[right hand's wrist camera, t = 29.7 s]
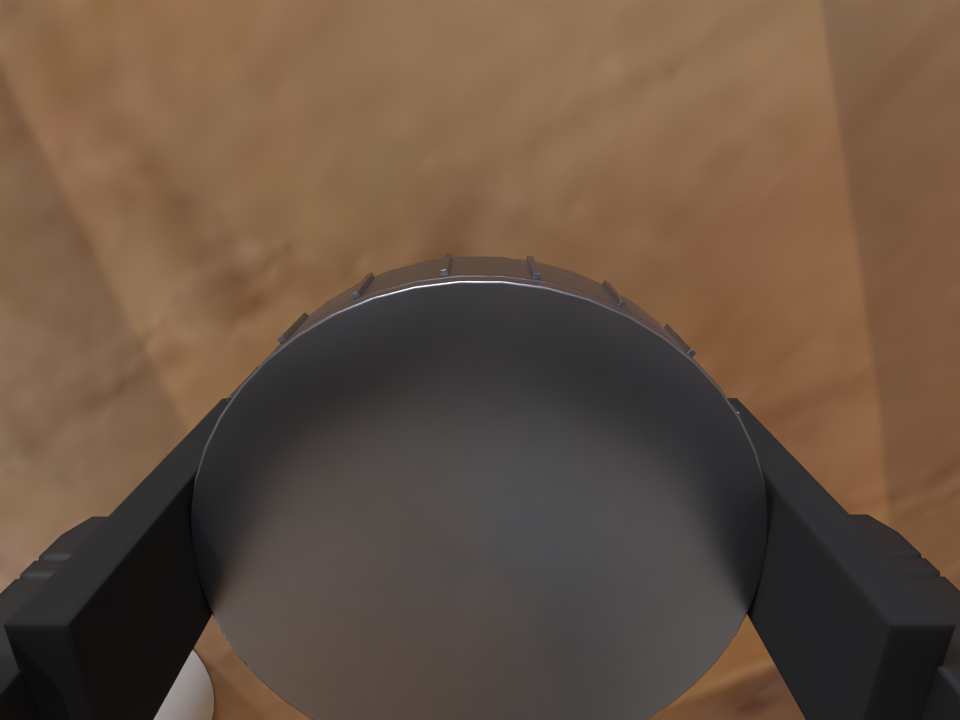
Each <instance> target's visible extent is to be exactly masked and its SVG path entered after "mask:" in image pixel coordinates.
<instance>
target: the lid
mask: <svg viewBox="0 0 960 720" xmlns="http://www.w3.org/2000/svg"><path fill="white" fill-rule="evenodd" d="M278 341H279V342H280V343H281V344H280V345H279V346H278V347H277V348H276V349H275V350H274V351H273V352H272V353H271V354H270V355H269V356H268V357H267V358H266V359H265V360H264V362H263V363H262V364H261V365H260V366H259V367H257V368H256V369H255V370H254V371H253V372H252V373H251V374H250V375H249V376H248V377H247V378H246V379H245V380H244V381H243V382H242V383H241V384H240V386H239V387H238V388H237V389H236V390H235V391H234V392H233V393H232V394H231V395H230V396H229V397H228V399H227V402H229V403H228V405H227V406H226V408H225V409H224V410H223V412H222V413H221V415H220V417H219V419H218V421H217V423H216V425H215V427H214V429H213V431H212V433H211V435H210V437H209V439H208V441H207V444H206V446H205V448H204V451H203V455H202V458H201V462H200V465H199V468H198V472H197V475H196V478H195V485H194V492H193V500H192V508H191V530H192V545H193V550H194V555H195V561H196V566H197V571H198V576H199V581H200V583H201V586H202V589H203V592H204V595H205V598H206V601H207V604H208V606H209V608H210V610H211V612H212V614H213V616H214V617H215V619H216V621H217V623H218V625H219V627H220V629H221V631H222V633H223V634H224V636H225V637H226V638H227V640H228V641H229V643H230V644H231V646H232V647H233V648H234V650H235V651H236V653H237V654H238V655H239V657H240V658H241V659H242V660H243V661H244V663H245V664H246V665H247V666H248V667H249V668H250V669H251V670H252V671H253V672H254V674H255V675H256V676H257V677H258V678H259V679H260V680H261V681H262V682H263V683H264V684H265V685H267V686H268V687H269V688H270V689H271V690H272V691H274V692H275V693H276V694H277V695H278V696H279V697H281V698H282V699H283V700H284V701H285V702H287V703H288V704H290V705H291V706H293V707H294V708H296V709H297V710H299V711H300V712H302V713H303V714H305V715H306V716H307V717H309V718H310V719H312V720H647V719H649V718H650V717H652V716H653V715H655V714H656V713H658V712H659V711H661V710H662V709H664V708H665V707H667V706H668V705H670V704H671V703H673V702H674V701H675V700H676V699H677V698H679V697H680V696H681V695H682V694H683V693H685V692H686V691H687V690H688V689H689V688H690V687H692V686H693V685H694V684H695V683H696V682H697V681H698V680H699V679H700V678H701V677H702V676H703V675H704V674H705V673H706V672H707V671H708V670H709V668H710V667H711V666H712V665H713V664H714V663H715V662H716V661H717V660H718V659H719V657H720V656H721V654H722V653H723V652H724V650H725V649H726V647H727V646H728V645H729V643H730V642H731V640H732V639H733V638H734V636H735V635H736V633H737V631H738V629H739V628H740V626H741V624H742V622H743V620H744V618H745V616H746V614H747V612H748V611H749V609H750V607H751V604H752V601H753V598H754V596H755V593H756V590H757V587H758V584H759V582H760V579H761V574H762V569H763V564H764V558H765V553H766V548H767V536H768V507H767V499H766V490H765V482H764V478H763V475H762V471H761V468H760V464H759V461H758V457H757V454H756V450H755V448H754V446H753V444H752V441H751V439H750V437H749V435H748V433H747V431H746V429H745V426H744V424H743V422H742V420H741V415H740V413H739V412H738V411H737V410H736V409H735V408H734V406H733V405H732V404H731V403H730V402H729V400H728V399H727V397H726V396H725V394H724V393H723V391H722V390H721V388H720V387H719V386H718V385H717V384H716V383H715V382H714V381H713V380H712V378H711V377H710V376H709V375H708V374H707V373H706V372H705V371H704V370H703V369H702V368H701V367H700V366H699V364H698V363H697V362H696V361H695V360H694V359H693V358H692V357H693V356H694V355H695V354H696V353H695V352H694V351H693V350H692V349H691V348H690V347H689V346H688V345H687V344H686V343H685V342H684V341H683V340H682V339H681V338H680V337H679V336H678V334H677V333H676V332H675V331H674V330H673V329H672V328H671V327H670V326H669V325H666V326H665V327H663V326H662V325H661V324H660V323H658V322H657V321H656V320H655V319H653V318H652V317H651V316H650V315H648V314H647V313H646V312H645V311H643V310H642V309H641V308H640V307H638V306H637V305H636V304H635V303H633V302H631V301H630V300H628V299H626V298H625V297H623V296H621V295H620V294H619V293H618V292H617V291H616V290H615V289H614V288H613V286H612V285H611V284H610V283H609V282H607V281H604V282H603V284H600V283H597V282H595V281H593V280H590V279H588V278H586V277H583V276H581V275H579V274H576V273H574V272H571V271H568V270H564V269H560V268H557V267H553V266H550V265H546V264H542V263H539V262H536V261H535V259H534V257H532V256H527V261H526V260H519V259H511V258H504V257H456V258H452V255H451V253H448V254H445V256H444V259H440V260H432V261H425V262H421V263H417V264H414V265H410V266H406V267H402V268H398V269H395V270H391V271H388V272H386V273H383V274H381V275H378V276H376V277H374V275H373V273H370V274H368V275H366V277H365V278H364V279H363V280H362V282H361V283H359V284H357V285H355V286H353V287H352V288H350V289H348V290H346V291H345V292H343V293H341V294H340V295H338V296H336V297H334V298H333V299H331V300H329V301H328V302H326V303H325V304H324V305H322V306H321V307H320V308H318V309H317V310H316V311H315V312H313V313H312V314H311V315H310V316H308V315H307V314H306V313H304V314H303V315H302V316H301V317H300V318H299V319H298V320H297V321H296V322H295V323H294V324H293V325H292V326H291V327H290V328H289V329H288V330H287V331H286V332H285V333H284V334H283V335H282V336H281V337H280V338H279V339H278Z"/></svg>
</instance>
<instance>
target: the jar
mask: <svg viewBox="0 0 960 720" xmlns="http://www.w3.org/2000/svg"><path fill="white" fill-rule="evenodd" d="M213 712H214V693H213V687H212V683H211V680H210V677H209V675H208V673H207V670H206V668H205V666H204V664H203V663H202V661H201V660H200V658H199V657H198V655H197V654H196V653H195V652H194V650H192V652H191V653H190V655H189V657H188V659H187V661H186V662H185V664H184V666H183V668H182V670H181V671H180V673H179V675H178V677H177V679H176V680H175V682H174V684H173V686H172V688H171V689H170V691H169V693H168V695H167V697H166V698H165V700H164V702H163V704H162V706H161V707H160V709H159V711H158V713H157V715H156V716H155V718H154V720H212V716H213Z"/></svg>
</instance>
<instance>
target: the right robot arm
mask: <svg viewBox="0 0 960 720" xmlns="http://www.w3.org/2000/svg"><path fill="white" fill-rule="evenodd" d="M227 399H228V398H223V399H222V400H221V401H220V402H219V403H218V404H217V405H216V406H215V407H214V408H213V409H212V410H211V411H210V412H209V413H208V414H207V415H206V416H205V417H204V418H203V419H202V420H201V421H200V423H199V424H198V425H197V426H196V427H195V428H194V429H193V430H192V431H191V432H190V433H189V434H188V435H187V436H186V437H185V438H184V439H183V440H182V441H181V442H180V443H179V444H178V445H177V446H176V447H175V448H174V449H173V450H172V451H171V452H170V454H169V455H168V456H167V457H166V458H165V459H164V460H163V461H162V462H161V463H160V464H159V465H158V466H157V467H156V468H155V469H154V470H153V471H152V472H151V473H150V474H149V475H148V476H147V477H146V478H145V479H144V480H143V481H142V482H141V483H140V485H139V486H138V487H137V488H136V489H135V490H134V491H133V492H132V493H131V494H130V495H129V496H128V497H127V498H126V499H125V500H124V501H123V502H122V503H121V504H120V505H119V506H118V507H117V508H116V509H115V510H114V511H113V512H112V513H111V514H110V516H109V517H91V518H89V519H88V520H86V521H84V522H83V523H81V524H79V525H78V526H76V527H74V528H72V529H71V530H69V531H67V532H66V533H64V534H62V535H61V536H60V537H59V538H58V539H57V540H56V541H55V542H54V543H53V544H52V545H51V546H50V547H48V548H47V549H46V550H45V551H44V552H43V553H42V554H41V555H40V556H39V560H38V561H34V562H33V563H32V564H31V565H30V566H29V567H28V568H27V569H26V570H25V571H24V572H22V573H21V574H20V579H15V580H14V581H13V582H12V583H11V584H10V585H9V586H8V587H7V588H6V589H5V590H4V591H3V592H2V593H1V594H0V720H154V718H155V716H156V715H157V713H158V711H159V709H160V707H161V706H162V704H163V702H164V700H165V698H166V697H167V695H168V693H169V691H170V689H171V688H172V686H173V684H174V682H175V680H176V679H177V677H178V675H179V673H180V671H181V670H182V668H183V666H184V664H185V662H186V661H187V659H188V657H189V655H190V653H191V652H192V650H193V648H194V646H195V644H196V643H197V641H198V639H199V637H200V635H201V634H202V632H203V630H204V628H205V626H206V625H207V623H208V621H209V619H210V617H211V616H212V612H211V610H210V608H209V606H208V604H207V601H206V598H205V595H204V592H203V589H202V586H201V583H200V581H199V576H198V571H197V566H196V561H195V555H194V550H193V545H192V530H191V508H192V500H193V492H194V485H195V478H196V475H197V472H198V468H199V465H200V462H201V458H202V455H203V451H204V448H205V446H206V444H207V441H208V439H209V437H210V435H211V433H212V431H213V429H214V427H215V425H216V423H217V421H218V419H219V417H220V415H221V413H222V412H223V410H224V409H225V408H226V406H227V405H228V403H229V402H227ZM727 399H728V400H729V402H730V403H731V404H732V405H733V406H734V408H735V409H736V410H737V411H738V412H739V413H740V415H741V420H742V422H743V424H744V426H745V429H746V431H747V433H748V435H749V437H750V439H751V441H752V444H753V446H754V448H755V450H756V454H757V457H758V461H759V464H760V468H761V471H762V475H763V478H764V482H765V490H766V499H767V507H768V536H767V548H766V553H765V558H764V564H763V569H762V574H761V579H760V582H759V584H758V587H757V590H756V593H755V596H754V598H753V601H752V604H751V607H750V609H749V611H748V612H747V614H748V616H749V618H750V620H751V622H752V623H753V625H754V627H755V629H756V631H757V632H758V634H759V636H760V638H761V640H762V641H763V643H764V645H765V647H766V649H767V650H768V652H769V654H770V656H771V658H772V659H773V661H774V663H775V665H776V667H777V668H778V670H779V672H780V674H781V676H782V677H783V679H784V681H785V683H786V685H787V686H788V688H789V690H790V692H791V694H792V695H793V697H794V699H795V701H796V703H797V704H798V706H799V708H800V710H801V712H802V713H803V715H804V717H805V719H806V720H960V591H959V590H958V589H957V588H956V587H955V586H954V585H953V584H952V583H951V582H950V581H949V580H947V579H946V578H945V577H941V576H940V572H939V571H938V570H937V569H936V568H935V567H934V566H933V565H932V564H931V563H930V562H929V561H928V560H927V559H925V558H921V554H920V553H919V552H918V551H917V550H916V549H915V548H914V547H913V546H912V545H911V544H910V543H909V542H908V541H907V540H906V539H905V538H904V537H902V536H901V535H900V534H899V533H898V532H896V531H895V530H893V529H891V528H890V527H888V526H886V525H884V524H883V523H881V522H879V521H878V520H876V519H874V518H873V517H871V516H869V515H849V514H848V513H847V512H846V511H845V510H844V509H843V508H842V507H841V506H840V505H839V504H838V503H837V502H836V500H835V499H834V498H833V497H832V496H831V495H830V494H829V493H828V492H827V491H826V490H825V489H824V488H823V487H822V486H821V485H820V484H819V483H818V482H817V481H816V480H815V479H814V478H813V477H812V476H811V475H810V474H809V473H808V472H807V470H806V469H805V468H804V467H803V466H802V465H801V464H800V463H799V462H798V461H797V460H796V459H795V458H794V457H793V456H792V455H791V454H790V453H789V452H788V451H787V450H786V449H785V448H784V447H783V446H782V445H781V444H780V443H779V442H778V441H777V439H776V438H775V437H774V436H773V435H772V434H771V433H770V432H769V431H768V430H767V429H766V428H765V427H764V426H763V425H762V424H761V423H760V422H759V421H758V420H757V419H756V418H755V417H754V416H753V415H752V414H751V413H750V412H749V411H748V410H747V408H746V407H745V406H744V405H743V404H742V403H741V402H740V401H739V400H738V399H737V398H727Z"/></svg>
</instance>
